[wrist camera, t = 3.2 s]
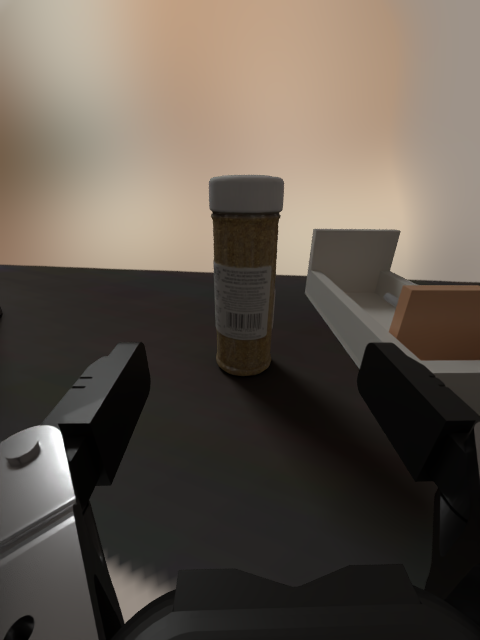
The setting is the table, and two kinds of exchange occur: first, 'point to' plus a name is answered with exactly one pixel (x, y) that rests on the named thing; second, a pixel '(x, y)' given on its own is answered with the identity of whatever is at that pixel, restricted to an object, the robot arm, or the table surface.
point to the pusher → (438, 321)
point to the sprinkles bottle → (245, 268)
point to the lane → (371, 300)
